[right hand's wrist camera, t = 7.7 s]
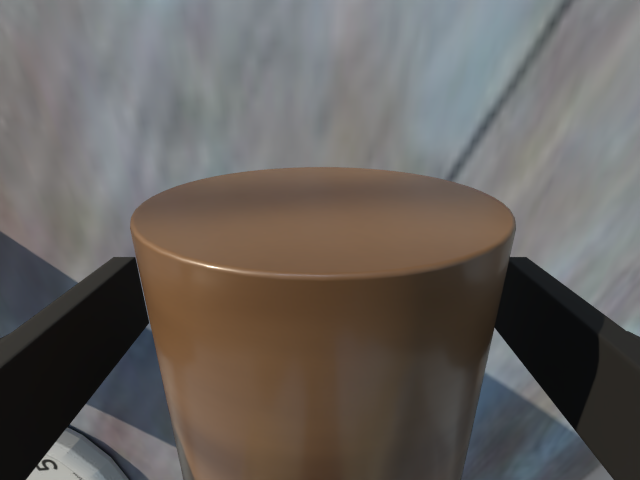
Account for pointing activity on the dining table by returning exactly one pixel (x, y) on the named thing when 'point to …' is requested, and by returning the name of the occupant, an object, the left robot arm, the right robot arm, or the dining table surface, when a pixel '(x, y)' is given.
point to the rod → (322, 320)
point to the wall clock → (76, 461)
